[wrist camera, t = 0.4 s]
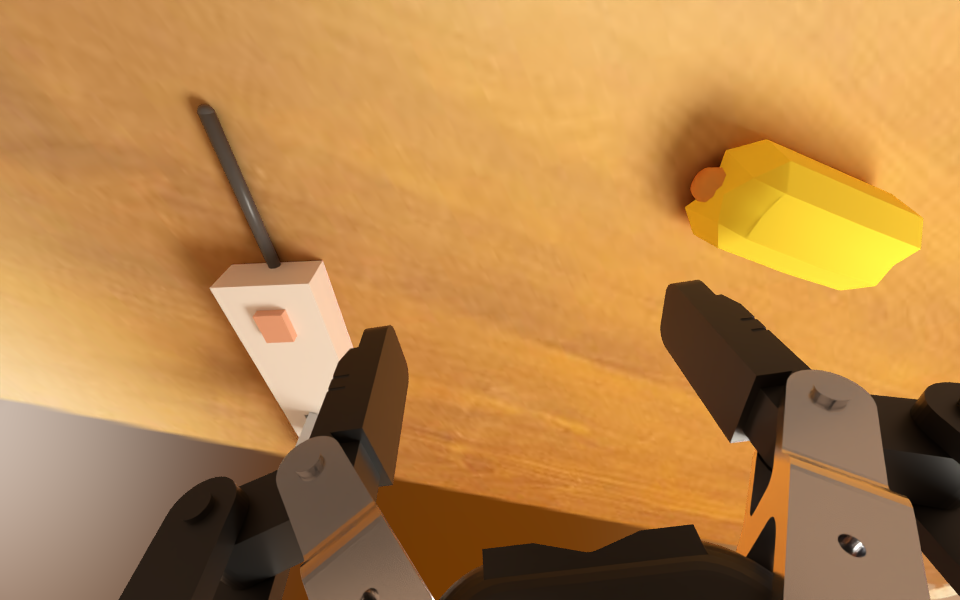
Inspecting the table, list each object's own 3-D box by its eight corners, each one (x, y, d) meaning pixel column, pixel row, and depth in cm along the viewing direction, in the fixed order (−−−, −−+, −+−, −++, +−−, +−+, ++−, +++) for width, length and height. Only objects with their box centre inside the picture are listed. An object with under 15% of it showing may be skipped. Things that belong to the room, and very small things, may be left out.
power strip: (147, 106, 25) (96, 120, 22) (266, 100, 25) (233, 114, 21) (330, 450, 51) (320, 482, 48) (388, 448, 51) (382, 479, 47)
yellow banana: (819, 273, 34) (900, 197, 30) (881, 320, 29) (991, 237, 25) (654, 214, 31) (720, 118, 26) (692, 257, 25) (782, 145, 21)
